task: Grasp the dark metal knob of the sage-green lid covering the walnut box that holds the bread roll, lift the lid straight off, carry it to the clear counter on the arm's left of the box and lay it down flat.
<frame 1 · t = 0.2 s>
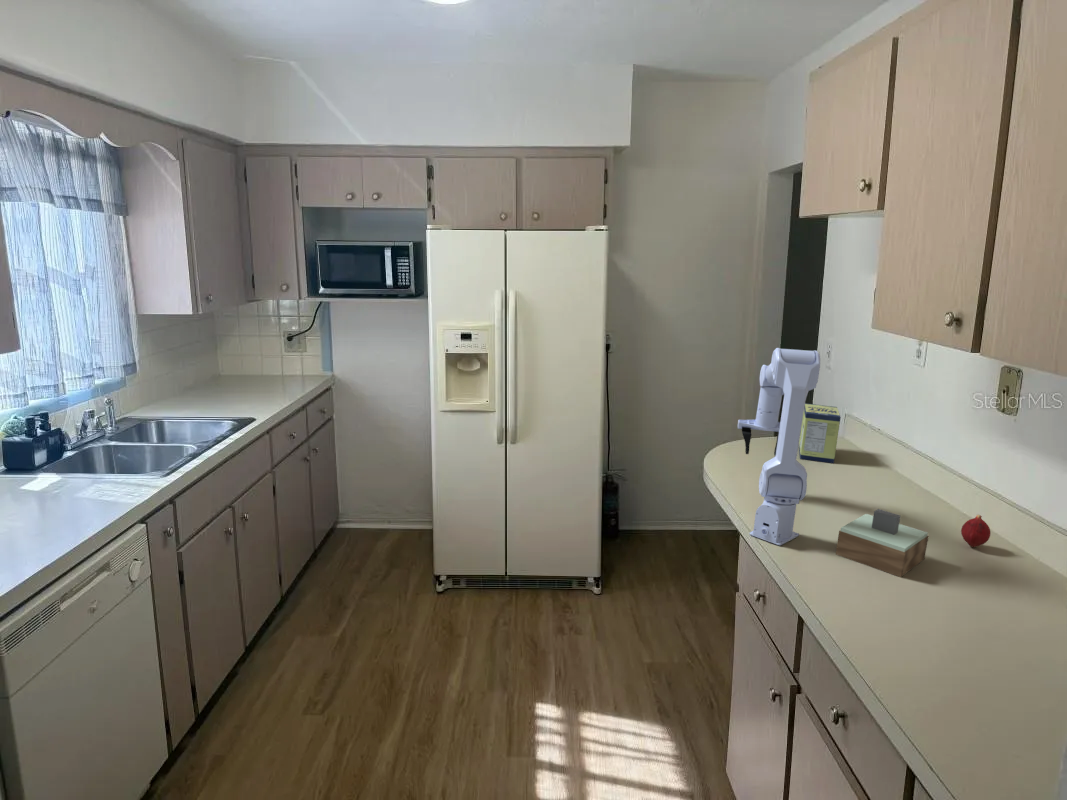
hand: (761, 454, 198), 11 cm above the counter, tool pointing down, fingers open, 7 cm apart
box: (879, 556, 161), on the counter
onion: (972, 547, 169), on the counter
lid: (883, 533, 160), point 6 cm above the counter, touching box
protein box: (815, 455, 238), on the counter
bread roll: (879, 558, 161), resting in box
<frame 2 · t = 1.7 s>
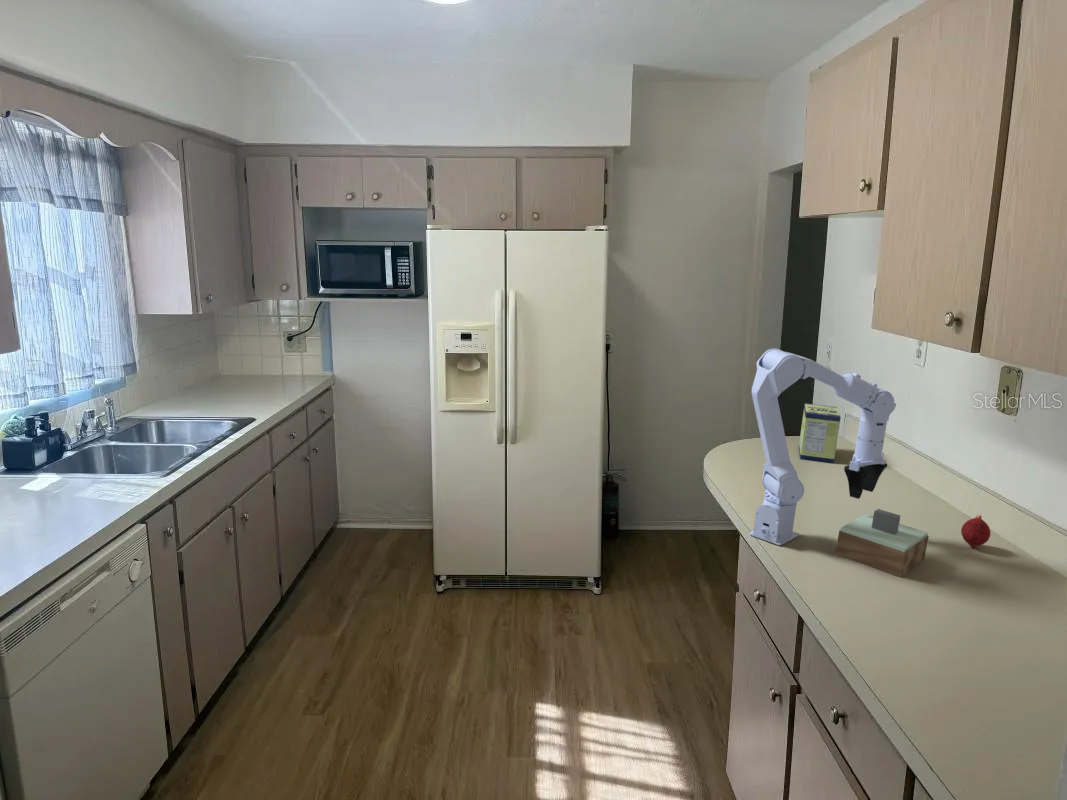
hand: (861, 493, 171), 10 cm above the counter, tool pointing down, fingers open, 7 cm apart
nothing on the counter moved.
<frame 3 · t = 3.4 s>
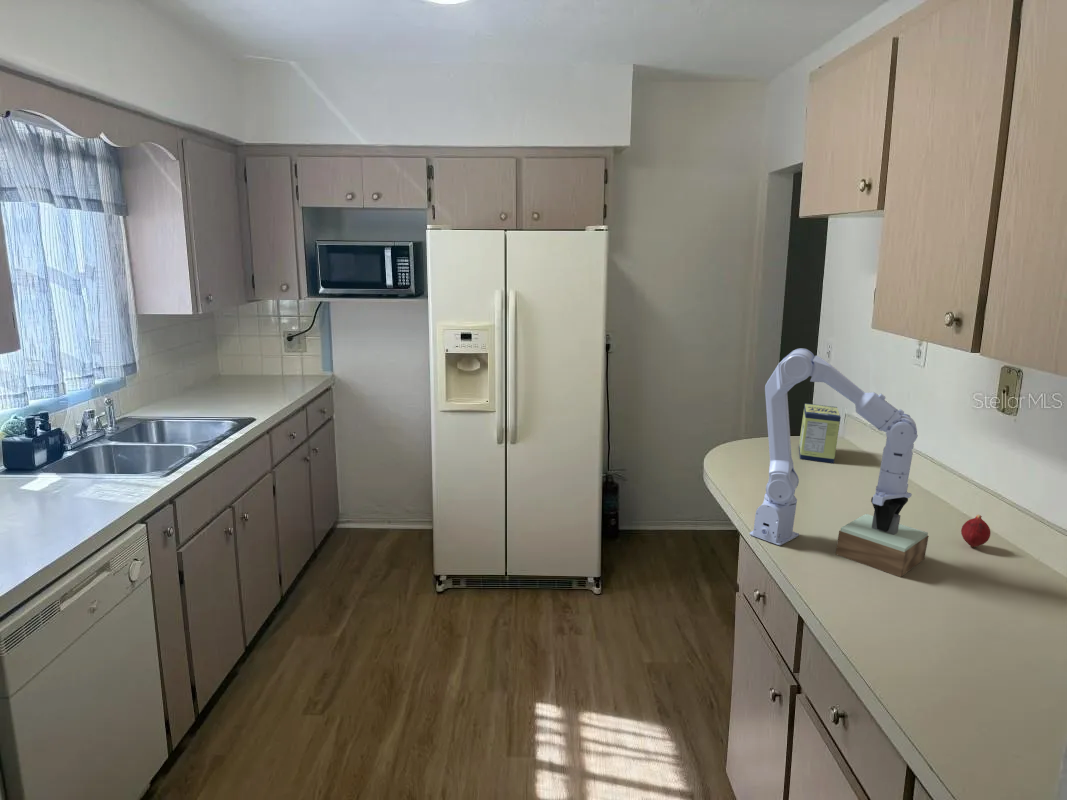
hand: (884, 528, 160), 7 cm above the counter, tool pointing down, fingers closed on lid, 2 cm apart
lid: (883, 533, 160), point 6 cm above the counter, touching box, gripper
everything else where it was.
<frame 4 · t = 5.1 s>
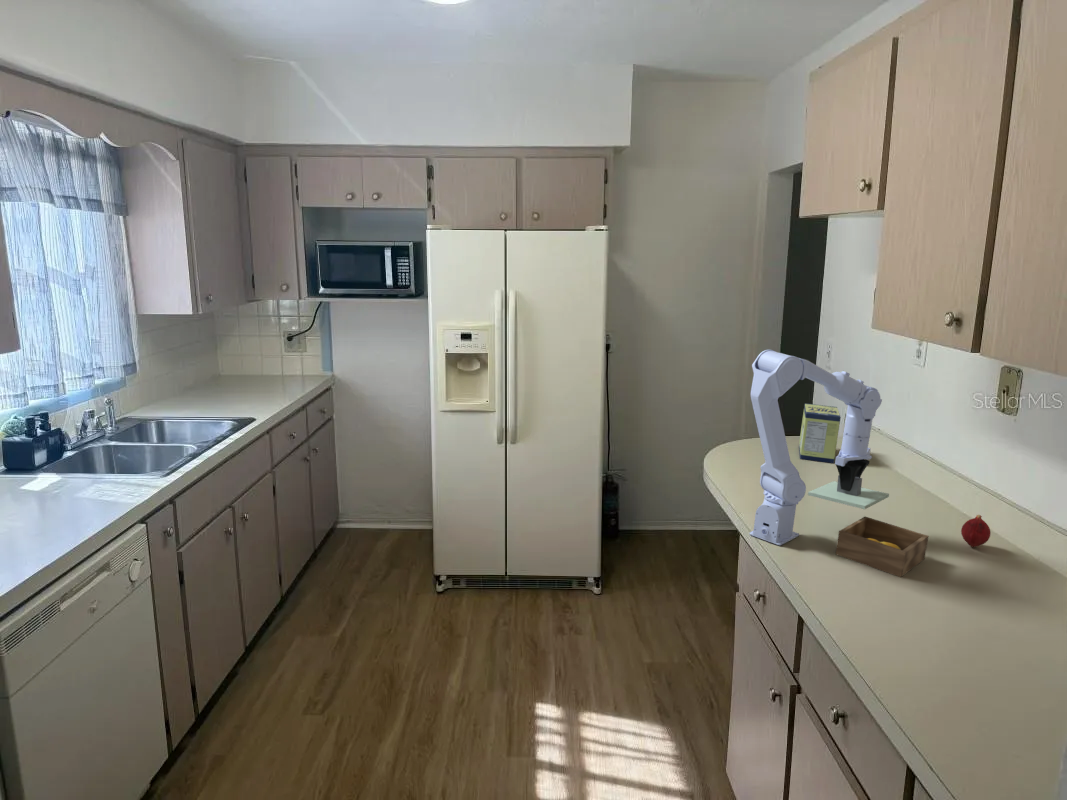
hand: (848, 488, 174), 10 cm above the counter, tool pointing down, fingers closed on lid, 2 cm apart
lid: (848, 496, 174), point 9 cm above the counter, touching gripper
everything else where it was.
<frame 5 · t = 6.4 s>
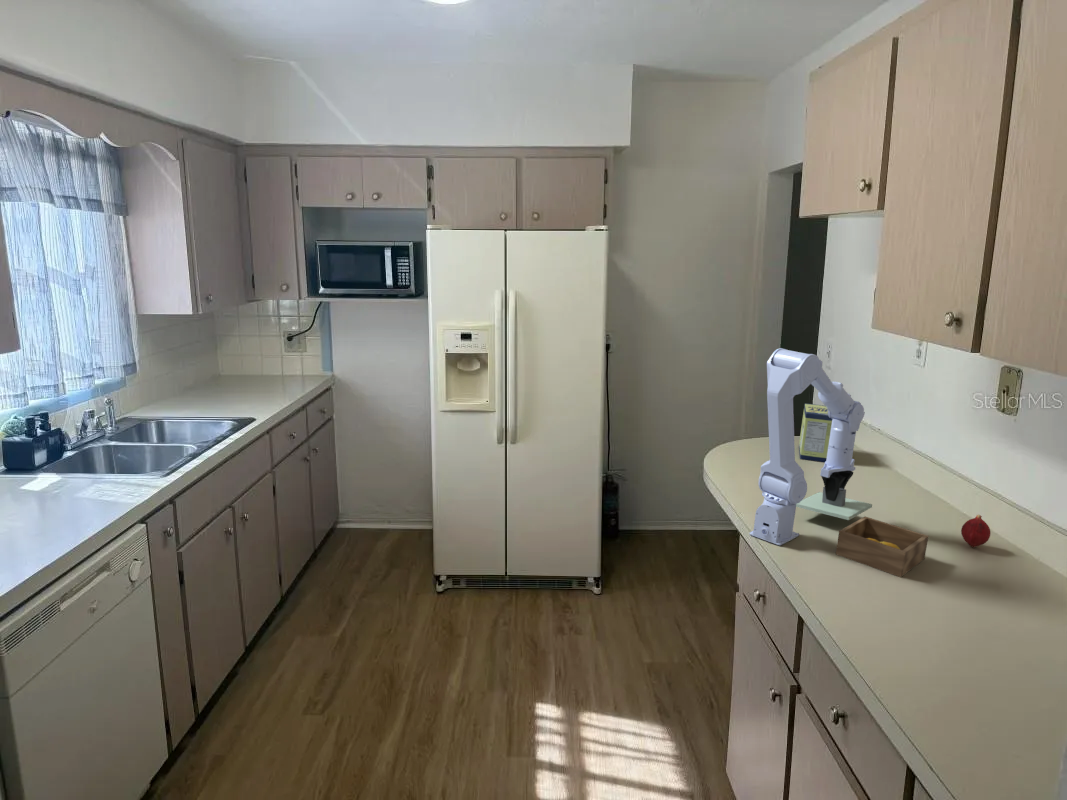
hand: (833, 498, 180), 6 cm above the counter, tool pointing down, fingers closed on lid, 2 cm apart
lid: (833, 506, 180), point 4 cm above the counter, touching gripper
everything else where it was.
when the fingers open (4 cm above the counter, at t = 7.0 s): lid drops 2 cm, on the counter.
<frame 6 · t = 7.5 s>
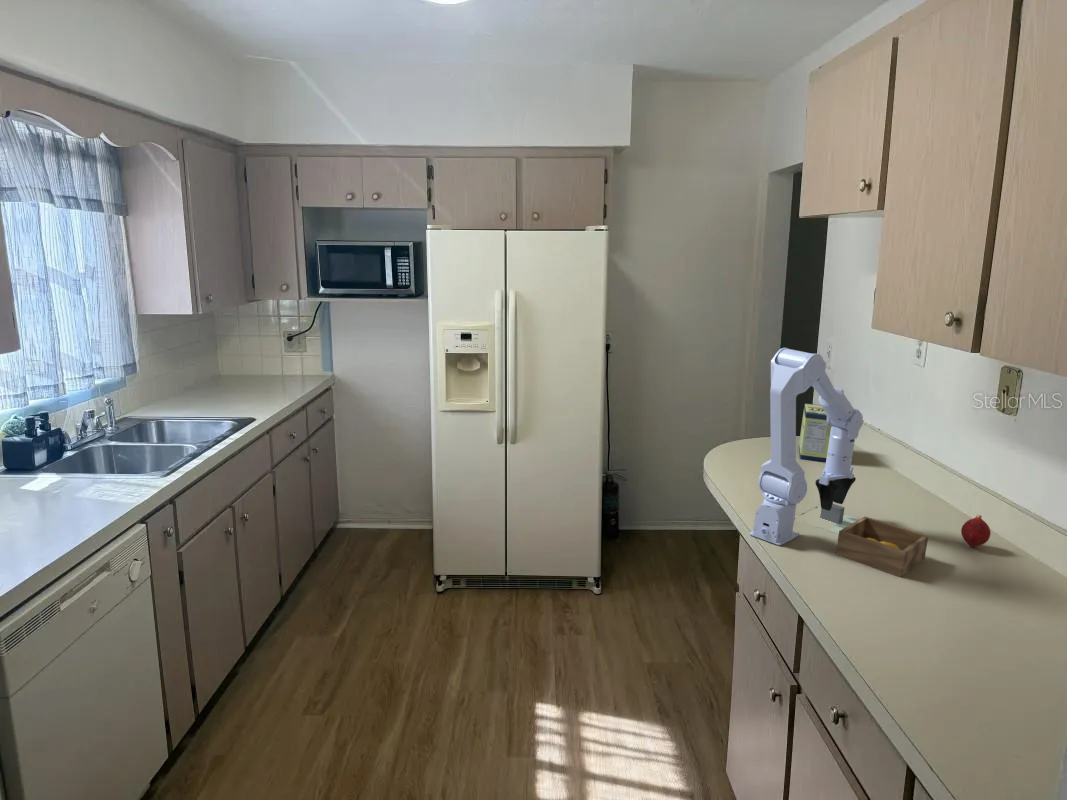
hand: (831, 506, 180), 4 cm above the counter, tool pointing down, fingers open, 6 cm apart
lid: (830, 523, 181), on the counter
everything else where it was.
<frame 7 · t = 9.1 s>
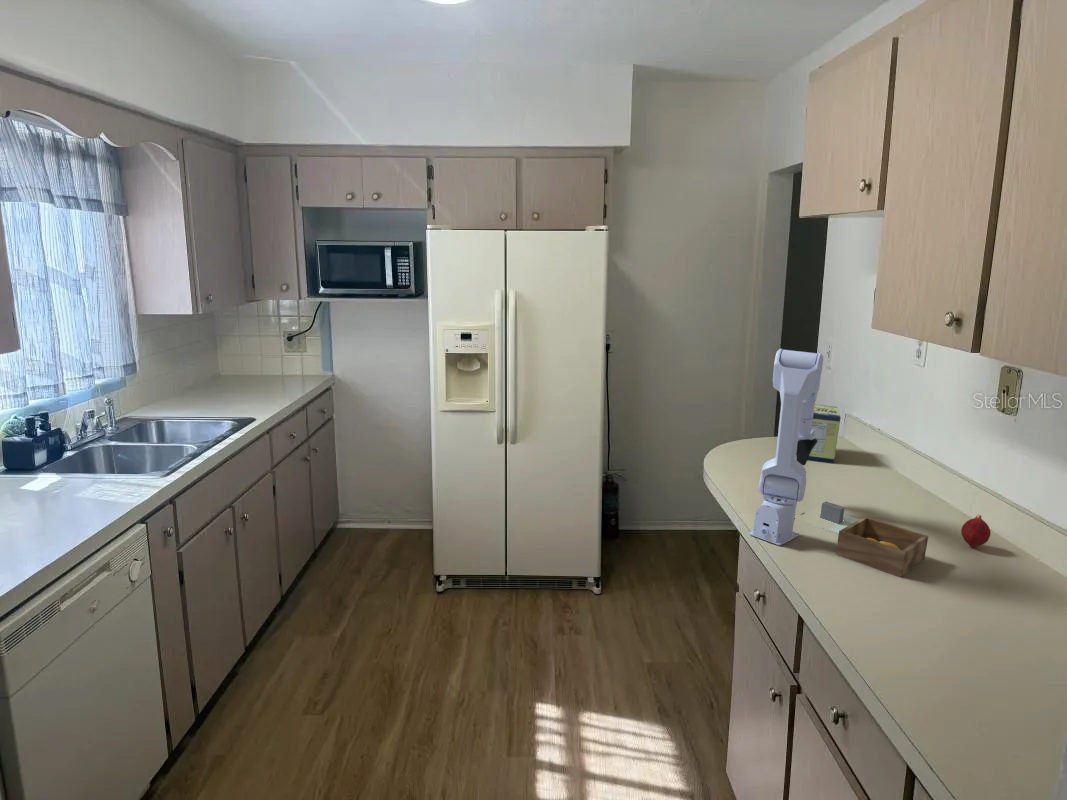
hand: (794, 467, 189), 10 cm above the counter, tool pointing down, fingers open, 7 cm apart
nothing on the counter moved.
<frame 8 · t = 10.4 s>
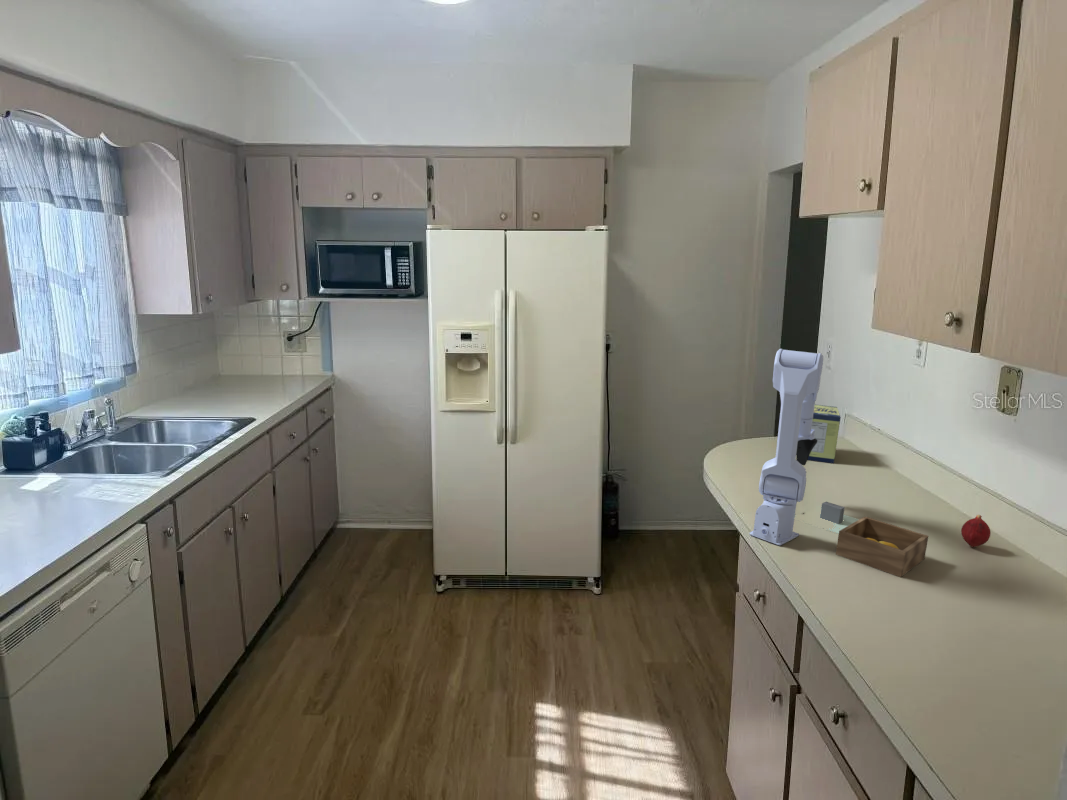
hand: (794, 467, 189), 10 cm above the counter, tool pointing down, fingers open, 7 cm apart
nothing on the counter moved.
at the end: lid inside the target area (0.3 cm from its centre), on the counter; lid tilted 0°; lid touching counter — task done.
